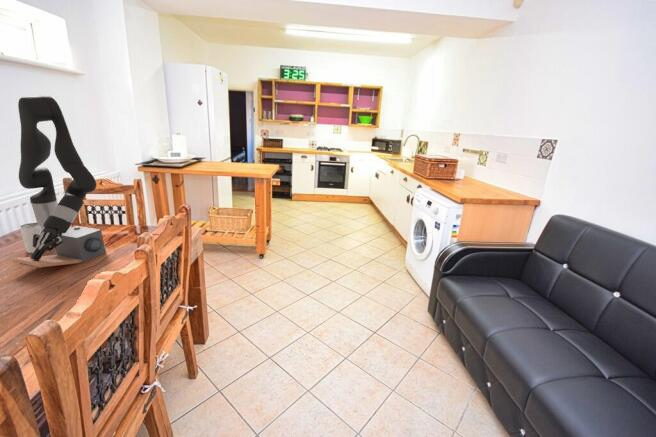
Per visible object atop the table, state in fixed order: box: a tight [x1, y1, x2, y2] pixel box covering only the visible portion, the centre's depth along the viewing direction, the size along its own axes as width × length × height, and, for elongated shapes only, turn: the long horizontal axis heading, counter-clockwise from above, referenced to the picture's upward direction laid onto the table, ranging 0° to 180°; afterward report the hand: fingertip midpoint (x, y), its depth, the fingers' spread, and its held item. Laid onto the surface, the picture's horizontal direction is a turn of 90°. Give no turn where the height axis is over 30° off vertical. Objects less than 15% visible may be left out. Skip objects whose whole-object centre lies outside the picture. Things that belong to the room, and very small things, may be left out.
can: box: [19, 222, 42, 254], centre depth 130 cm, size 6×6×12 cm
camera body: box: [54, 225, 107, 263], centre depth 127 cm, size 16×10×12 cm, turn 75°
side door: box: [12, 254, 83, 269], centre depth 117 cm, size 14×2×15 cm
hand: (34, 259), depth 112 cm, fingers closed
